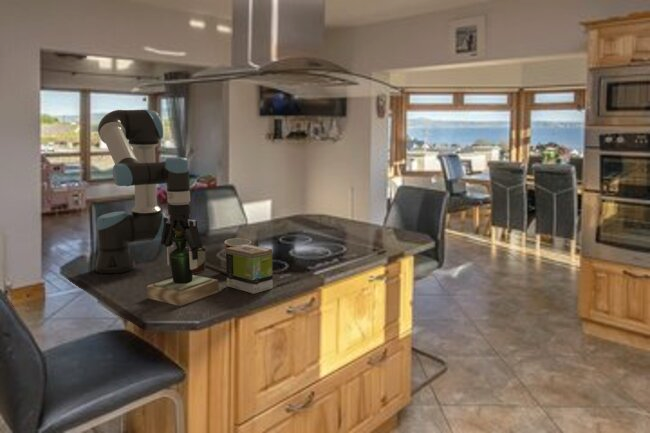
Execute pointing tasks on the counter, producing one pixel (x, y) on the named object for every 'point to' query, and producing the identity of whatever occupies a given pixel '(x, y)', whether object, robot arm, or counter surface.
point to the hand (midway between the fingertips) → (182, 266)
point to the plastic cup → (236, 242)
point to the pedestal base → (182, 290)
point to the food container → (200, 259)
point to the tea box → (249, 268)
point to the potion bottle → (180, 260)
